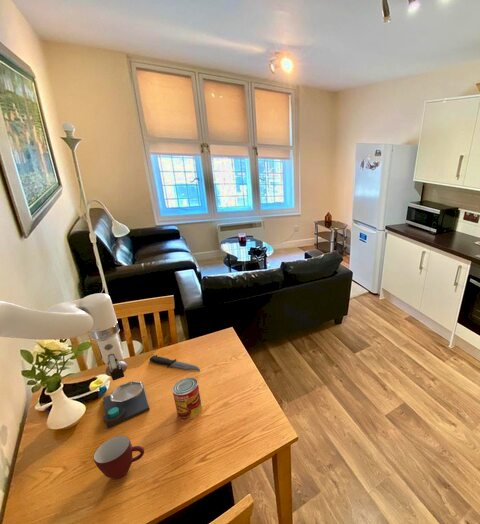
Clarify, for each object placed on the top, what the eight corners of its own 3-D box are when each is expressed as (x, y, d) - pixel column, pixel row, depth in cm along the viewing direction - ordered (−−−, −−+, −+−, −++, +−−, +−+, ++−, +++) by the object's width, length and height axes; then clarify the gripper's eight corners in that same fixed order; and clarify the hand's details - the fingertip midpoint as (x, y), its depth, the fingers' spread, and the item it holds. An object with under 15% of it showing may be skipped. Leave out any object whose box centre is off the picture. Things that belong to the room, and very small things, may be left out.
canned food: (172, 414, 103) (166, 389, 98) (192, 398, 109) (187, 374, 105) (188, 423, 100) (182, 398, 95) (207, 406, 106) (202, 382, 102)
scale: (106, 430, 96) (104, 424, 94) (102, 400, 106) (100, 394, 105) (150, 410, 103) (148, 404, 102) (143, 384, 114) (141, 379, 113)
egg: (104, 381, 97) (101, 372, 96) (110, 369, 102) (107, 360, 101) (126, 377, 99) (123, 368, 98) (130, 365, 104) (128, 356, 103)
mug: (146, 448, 91) (139, 426, 87) (148, 470, 85) (141, 447, 81) (103, 467, 85) (94, 444, 81) (102, 492, 79) (92, 469, 75)
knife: (205, 364, 124) (197, 373, 119) (205, 367, 124) (197, 375, 120) (155, 353, 128) (146, 360, 124) (156, 356, 129) (147, 363, 124)
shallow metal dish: (112, 408, 100) (111, 406, 99) (109, 391, 106) (109, 389, 106) (144, 395, 106) (144, 392, 105) (140, 379, 112) (140, 377, 112)
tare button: (109, 419, 97) (108, 415, 96) (108, 413, 98) (107, 410, 98) (119, 415, 98) (118, 411, 98) (119, 409, 100) (117, 405, 100)
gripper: (121, 338, 90) (134, 382, 97) (116, 314, 102) (127, 354, 109) (90, 348, 86) (105, 393, 92) (88, 321, 97) (102, 363, 104)
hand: (117, 372), depth 101 cm, fingers closed on egg, 6 cm apart
